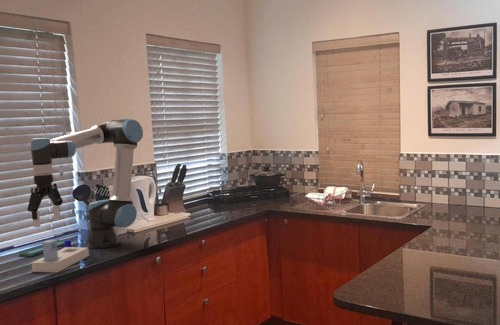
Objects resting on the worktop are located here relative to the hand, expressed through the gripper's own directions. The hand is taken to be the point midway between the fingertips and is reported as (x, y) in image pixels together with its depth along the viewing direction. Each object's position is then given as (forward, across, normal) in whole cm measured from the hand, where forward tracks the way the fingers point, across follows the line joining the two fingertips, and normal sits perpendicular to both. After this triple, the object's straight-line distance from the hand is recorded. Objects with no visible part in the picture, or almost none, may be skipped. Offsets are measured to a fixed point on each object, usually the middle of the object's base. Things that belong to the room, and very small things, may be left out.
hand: (47, 223), depth 209 cm
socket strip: (+21, -7, 0) cm, 22 cm away
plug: (+20, 0, 0) cm, 20 cm away
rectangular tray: (+21, -32, -27) cm, 47 cm away
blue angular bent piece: (+21, -24, -13) cm, 34 cm away
